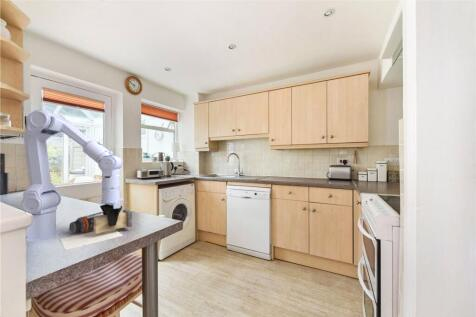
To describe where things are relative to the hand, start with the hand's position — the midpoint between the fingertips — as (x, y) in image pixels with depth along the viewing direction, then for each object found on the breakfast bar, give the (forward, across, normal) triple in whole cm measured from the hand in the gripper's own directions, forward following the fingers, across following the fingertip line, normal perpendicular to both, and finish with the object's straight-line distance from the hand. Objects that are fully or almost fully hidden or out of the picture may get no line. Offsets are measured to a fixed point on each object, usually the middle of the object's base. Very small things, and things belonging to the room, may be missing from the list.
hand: (111, 224), depth 76 cm
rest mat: (+3, 0, +6) cm, 7 cm away
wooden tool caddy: (+2, 0, 0) cm, 2 cm away
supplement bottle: (0, +12, 0) cm, 12 cm away
